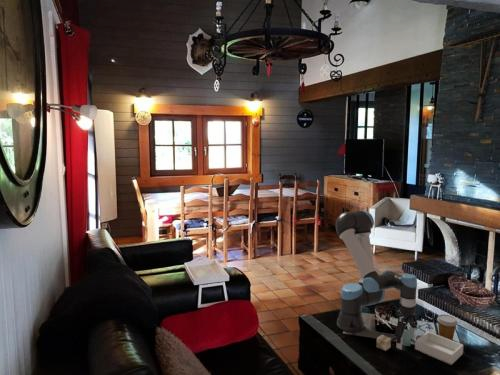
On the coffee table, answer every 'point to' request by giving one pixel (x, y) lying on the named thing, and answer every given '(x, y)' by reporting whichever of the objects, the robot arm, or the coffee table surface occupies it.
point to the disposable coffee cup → (446, 326)
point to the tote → (439, 347)
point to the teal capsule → (406, 338)
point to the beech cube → (383, 342)
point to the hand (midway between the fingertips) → (405, 343)
